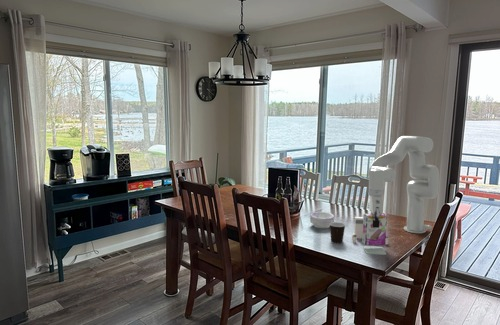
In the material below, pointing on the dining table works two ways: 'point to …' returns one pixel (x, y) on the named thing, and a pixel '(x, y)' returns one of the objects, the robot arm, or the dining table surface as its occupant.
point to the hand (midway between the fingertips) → (374, 225)
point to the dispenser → (360, 230)
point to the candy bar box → (374, 230)
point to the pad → (374, 250)
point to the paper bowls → (321, 219)
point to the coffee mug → (337, 232)
